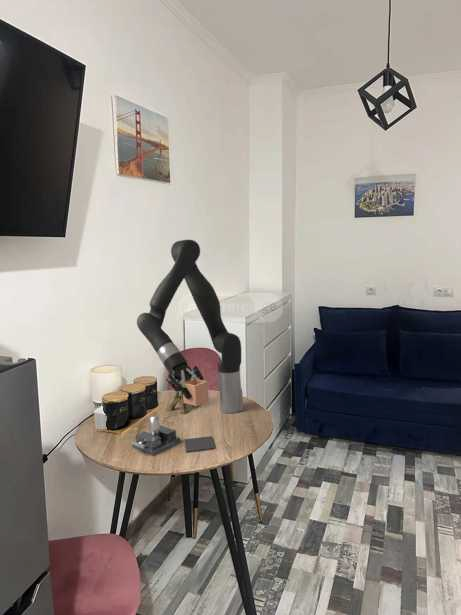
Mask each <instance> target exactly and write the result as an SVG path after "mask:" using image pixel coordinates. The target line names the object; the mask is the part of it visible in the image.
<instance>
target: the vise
mask: <svg viewBox="0 0 461 615" xmlns="http://www.w3.org/2000/svg"><path fill="white" fill-rule="evenodd" d="M149 420H150V422H149V423H150V432H147V431H142V432H140V433H137V434H136V435H135V441H134V440H133V441H132V442H131V444H132V448H133V449H135V450H138V451H140V452H143V453H146V454H148V455H150V456H152V457H153V456H155V455H156V454H159V453H161V452H163V451H165V450H167V449H169V448H171V447H173V446H175V445H177V444H179V443H181V437H178V436H177V431H176V429H173V428H170V427H167V426H163V425H162V424H161V425H160V417H159V415H158V414H154V415H151V416H149Z"/></svg>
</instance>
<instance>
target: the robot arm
mask: <svg viewBox="0 0 461 615" xmlns="http://www.w3.org/2000/svg"><path fill="white" fill-rule="evenodd" d="M170 254H171V257H172V260H173V261H174V264H173V266H172V268H171V269H170V270H169V272H168V273H167V275H166V276H165V277H164V278H163V279H162V280H161V282H160V283H159V284H158V286H157V287H156V289H155V291H154V293H153V295H152V297H151V299H150V301H149V306H150V307H149V308H150V310H149V312H143V313H141V314H139V315H138V316H137V319H136V325H137V328H138V330H139V331H140V332H141V334H142V335H143V336H144V337H145V338H146V340H147V341H148V342H149V343H150V344H151V346H152V348H153V350H154V351H155V353H156V354H157V356H158V358H159V360H160V361H161V363H162V364H163V366H164V367H165V369H166V371H167V372H168V373H169V374H168V375H167V377H166V378H165V380H166V382H167V383H168V384H169V385H170V386H171V388H172V390H174V391H175V393H176V392H177V391H181V392H182V393H183V395H184V396H185V398H187V399H188V400H189V399H190V398H191V397H192V395H191V394H190V392H189V391H188V389H187V388H185V382H187V381H190V380H193V379H198V380H203V381H204V376H203V374H202V372H201V371H200V369H199V367H198V366H197V365H195V366H194V367H190V366H189V365H188V360H187V359H186V357H185V356H184V355H183V353H182V352H181V351H180V349H179V348H178V347H177V345H176V344H174V342H173V340H172V339H171V338H170V337H171V336H169V334H167V333H166V332H165V330H163V329H162V326H163V324H164V320H165V317H166V312H167V310H168V308H169V306H170V304H171V303H172V300H173V299H174V296H175V294H176V293H177V290H178V289H179V287H180V285H181V284H182V282H183V281H185V284H186V285H187V288H188V290H189V292H190V294H191V296H192V298H193V301H194V303H195V305H196V308H197V310H198V312H199V313H200V316H201V318H202V320H203V322H204V324H205V326H206V329H207V330H208V333H209V337H210V339H211V343H212V345H213V347H214V349H215V351H217V353H220V354H221V361H220V362H219V363H218V364H217V376H218V388H219V391H218V392H219V404H220V405H219V407H220V411H221V413H225V414H234V413H239V412H243V411H244V399H243V388H242V381H241V365H242V342H241V339H240V337H239V336H238V335H237V334H235V333H231V332H229V331H228V330H227V328H226V326H225V324H224V322H223V319H222V313H221V303H220V299H219V297H218V296H217V293H216V290H215V289H214V287H213V285H212V284H211V282H210V281H209V280H208V279H207V277H205V276H204V274H203V273H202V272H201V271H200V269H199V267H198V264H197V260H198V259H199V257H200V255H201V248H200V245H199V243H198V242H197V241H196V240H194V239H184V240H183V239H181V240H177V241H175V242H174V243H173V244H172V245H171V248H170Z"/></svg>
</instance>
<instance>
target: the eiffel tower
mask: <svg viewBox="0 0 461 615" xmlns="http://www.w3.org/2000/svg"><path fill="white" fill-rule="evenodd" d="M173 398H174V399H173V400H172V402H171V403H170V405H169V406H168V408H167V409H166V411H167V412H170V413H171V412H172V411H175V410H176V406H177V405H179V406H181V408H180V412H179V415H184V416H185V415H187V414H189V411H188V410H187V409H188V408H187V406H186V405H187V404H186V403H184V401H183V393H182V392H181V391H177V392H176V391H175V396H174V397H173ZM199 408H201V406H200V405H198V406H194V405H191V409H199Z"/></svg>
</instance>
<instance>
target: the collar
mask: <svg viewBox="0 0 461 615" xmlns="http://www.w3.org/2000/svg"><path fill="white" fill-rule="evenodd" d="M185 388H187V389H188V391H189V392H190V394H191V395H192V397H191V398H190V399H189V400H188V399H187V398H185V396H184V395H183V401H184V403H186V405H191V406H192V405H194V406H198V405H199V406H200V405H203V404H204V403H205V404H206V403H207V402H209V383H208V381H207V380H204V379H203V380H198V379H193V380H190V381H185Z"/></svg>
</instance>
